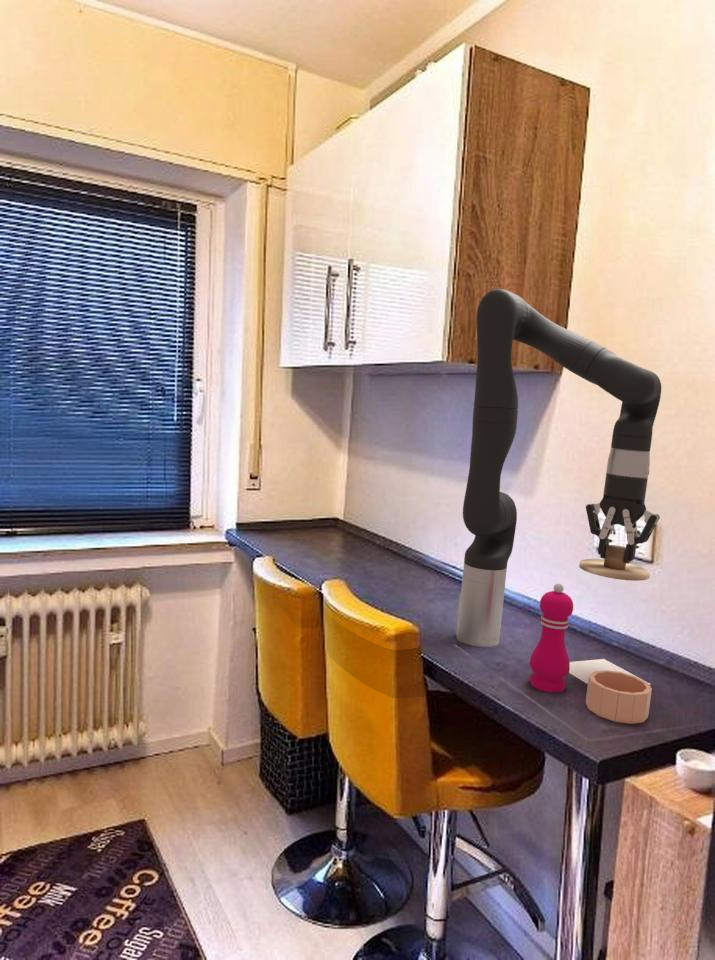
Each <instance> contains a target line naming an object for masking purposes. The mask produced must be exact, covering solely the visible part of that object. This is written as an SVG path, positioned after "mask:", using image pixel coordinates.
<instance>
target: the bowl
mask: <svg viewBox="0 0 715 960" xmlns="http://www.w3.org/2000/svg"><path fill="white" fill-rule="evenodd" d="M636 676H637V675H635V676H632V675H629V674H626V673H622V672H616V671H608V670H603V671H594V672H593V673H591V674H590V675H589V679H588V684H587V687H586V688H587V689H586V696H585V705H586V707H587V709H588V710H589V711H590V712H592V713H593V714H595V715H597V716H598V717H600V718H604V719H606V720H610V721H613V722H616V723H621V724H622V723H623V724H629V725H630V724H631V725H632V724H641V723H644V722H646V720H647V719H648V718H649V712H650V705H651V697H652V691H653V690H652V687H651V685H649V684H648V683H649V682H648V683H647V681H646V680H644V679H642V678H640V677H639V676H637V677H636ZM638 677H639V678H638ZM641 679H642V680H641ZM643 680H644V681H643ZM645 681H646V682H645Z"/></svg>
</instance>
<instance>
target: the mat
mask: <svg viewBox="0 0 715 960" xmlns="http://www.w3.org/2000/svg"><path fill="white" fill-rule="evenodd" d="M569 662H570V670H569V673H568V674H570V675H571V676H573V677H574V678H577V679H578V680H580V681H582V682H583V683H584V684H586V685H588V679H589V675H590V674H591V673H593V672H594V671H603V670H608V671H616V672H622V673H626V674H629V675H632V676H636V677H638V678H640V677H639V676H637V675H634V674H632V673H631V672H630V671H627V670H625V669H623V668H622V667H620V666H618V665H617V664H614V663H612V662H611V661H608V660H606V658H600V659H599V658H598V659H590V660H589V659H587V660H577V661H576V660H575V661H569ZM640 679H641V680H643V681H645V682H647V681H646V680H645V679H642V678H640ZM647 683H648V684H649V685H650V686H651V685H652V684H651V683H650V682H647Z"/></svg>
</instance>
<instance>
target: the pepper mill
mask: <svg viewBox="0 0 715 960" xmlns="http://www.w3.org/2000/svg"><path fill="white" fill-rule="evenodd" d="M563 591H564V586H563V584H561V583H555V584H554V585H553V590H551V591H547V592H546V593H544V594H543V595H542V596H541V598H540V600H539V601H540V602H539V609H540V611H541V613H542V615H541V616H540V618H541V620H540V625H542V627H541V628H542V631H541V636H540V638H539V641H538V643H537V644H536V646H535V648H534V650H533V651H532V653H531V656H530V659H529V666H530V669H531V671H532V672H533V673H531V675H530V678H529V679H530V680H529V681H530V682H529V683H530V685H531V686H533V688H535V689H537V690H540V691H543V692H547V693H548V692H549V693H559V692H563V691H564V690H565V687H566V680H565V679H564V678H565V677H566V676H568V674H570V673H569V670H570V662H571V661H570V657H569V653H568V651H567V648H566V644H565V643H566V641H565V633H566V629H568V628H569V622H570V619H568V618H569V617H570V616H571V615H572V614H573V611H574V602H573V600H572V598H571V596H569V595H568V594H566V593H565V592H563Z"/></svg>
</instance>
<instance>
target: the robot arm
mask: <svg viewBox="0 0 715 960" xmlns="http://www.w3.org/2000/svg"><path fill="white" fill-rule="evenodd" d="M476 338H477V339H476V341H477V342H476V343H477V363H476V373H475V374H476V375H475V387H474V388H475V389H474V390H475V391H474V400H473V401H474V402H473V411H472V425H471V426H472V428H471V430H472V431H471V432H472V433H471V444H470V455H469V457H470V460H469V469H468V477H467V481H466V482H467V483H466V487H465V493H464V498H463V499H464V500H463V505H462V519H463V523H464V525H465V527H466V529H467V530H468V531H469V533H471V534H472V535H474V539H473V541H472V543H471V544H470V545H469V547H468V548H466V550H465V552H464V561H463V562H464V563H463V569H462V570H463V571H462V582H461V589H460V590H461V591H460V593H459V595H458V604H457V611H456V612H457V615H456V624H455V632H454V633H455V635H456V640H457V641H458V642H460V643H463V644H465V645H469V646H472V647H477V648H493V647H496V646H498V645H499V643H500V635H501V627H502V626H501V625H502V617H503V608H504V598H505V592H506V591H505V588H506V581H507V569H508V562H509V558H510V557H511V555H512V553H513V547H514V542H515V534H516V529H517V528H516V527H517V521H518V520H517V519H518V510H517V507H516V504H515V500H514V499H513V498H512V497H511V496H510V495H509V494H508V493H506V492H502V491H501V476H502V471H503V467H504V463H505V461H506V458H507V457H508V454H509V453H510V450H511V448H512V444H513V442H514V440H515V436H516V431H517V427H518V426H517V425H518V414H519V412H518V411H519V410H518V409H519V395H518V389H517V383H516V379H515V376H514V375H515V374H514V371H513V370H514V369H513V363H512V354H513V353H512V351H513V350H512V349H513V341H516V342H518V343H522V344H525V345H527V346H530V347H532V348H534V349H536V350H538V351H540V352H541V353H542V354H545V355H546V356H547V357H549V358H550V359H551V360H553V361H554V362H556V363H557V364H558V365H560V366H561V367H563V368H565V369H566V370H568V371H569V372H571V373H572V374H575V375H577V376H578V377H580V378H581V379H584V380H585V381H587V382H589V383H591V384H593V385H597V386H598V387H599V388H601V389H602V390H603V391H605V392H606V393H608V394H609V395H611V396H612V397H614V398H616V399H617V400H619V401H621V406H620V413H619V416H618V419H617V420H616V421H615V423H614V426H613V431H612V435H611V436H612V437H611V444H610V451H609V455H608V458H607V464H606V473H605V480H604V487H603V497H602V498H601V499H600V500H601V501H599V503H598V502H597V503H589V504H586V505H585V511H586V515H587V520H588V525H589V526H588V527H589V529H590V533H591V535H595V536H596V537H598V540H599V541H598V549H597V553H598V555H600V556H599V557H600V558H599V559H603V560H604V559H605V551H606V546H607V545H610V538H609V537H610V535H611V533H612V530H613V529H614V527H615V525H618V526H622V527H624V528H625V533H626V536H627V537H626V539H627V543H626V544H625V547H626V550H625V558H624V563H627V564H631V563H632V562H633V561H634V560H635V558H636V549H637V546H638V545H639V544H644V543H646V542H648V541H649V539H650V537H651V535H652V533H653V532H654V530H655V528H656V526H657V525H658V522H659V521H660V518H661V516H660V515H659V514H658V513H656V514H655V513H653V512H651V511H648V510H647V507H646V504H645V501H646V494H647V487H648V486H647V485H648V479H649V475H650V463H651V448H652V438H653V427H654V423H655V420H656V416H657V414H658V409H659V405H660V401H661V397H662V382H661V380H660V377H659V376H658V375H657V374H656V373H655V372H653V371H652V370H649V369H646V368H643V367H641V366H639V365H637V364H635V363H633V362H630V361H629V360H627V359H624V358H622V357H620V356H618V355H617V354H616V353H614V352H613V351H612V350H610V349H609V348H606V347H604V346H602V345H601V344H599V343H597V342H595V341H593V340H591V339H589V338H587V337H585V336H584V335H580V334H578V333H577V332H574V331H572V330H569V329H567V328H565V327H562V326H561V325H558V324H557V323H555V322H553V321H552V320H550V319H548V317H545V315H543V314H541V313H540V312H539V311H538V310H536V309H535V308H534V307H533V306H531V305H530V304H529V303H528V302H526V301H525V299H523V297H522V296H520V295H518V294H515V293H514V292H511V291H509V290H506V289H503V288H495V289H492V290H490V291H487V292H486V293H485V295H483V297H482V298H481V300H480V302H479V304H478V307H477V311H476ZM600 511H602V513H603V515H604V517H605V519H604V522H603V523H602V526H601V525H600V524H601V523H600V519H599V514H600ZM642 517H644V521H643V522H644V523H645V525H644V527H643V528H642V531H641V533H640V535H639V536H638V524H637V522H638V521H639V520H640V519H641V518H642ZM601 527H602V528H601Z"/></svg>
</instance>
